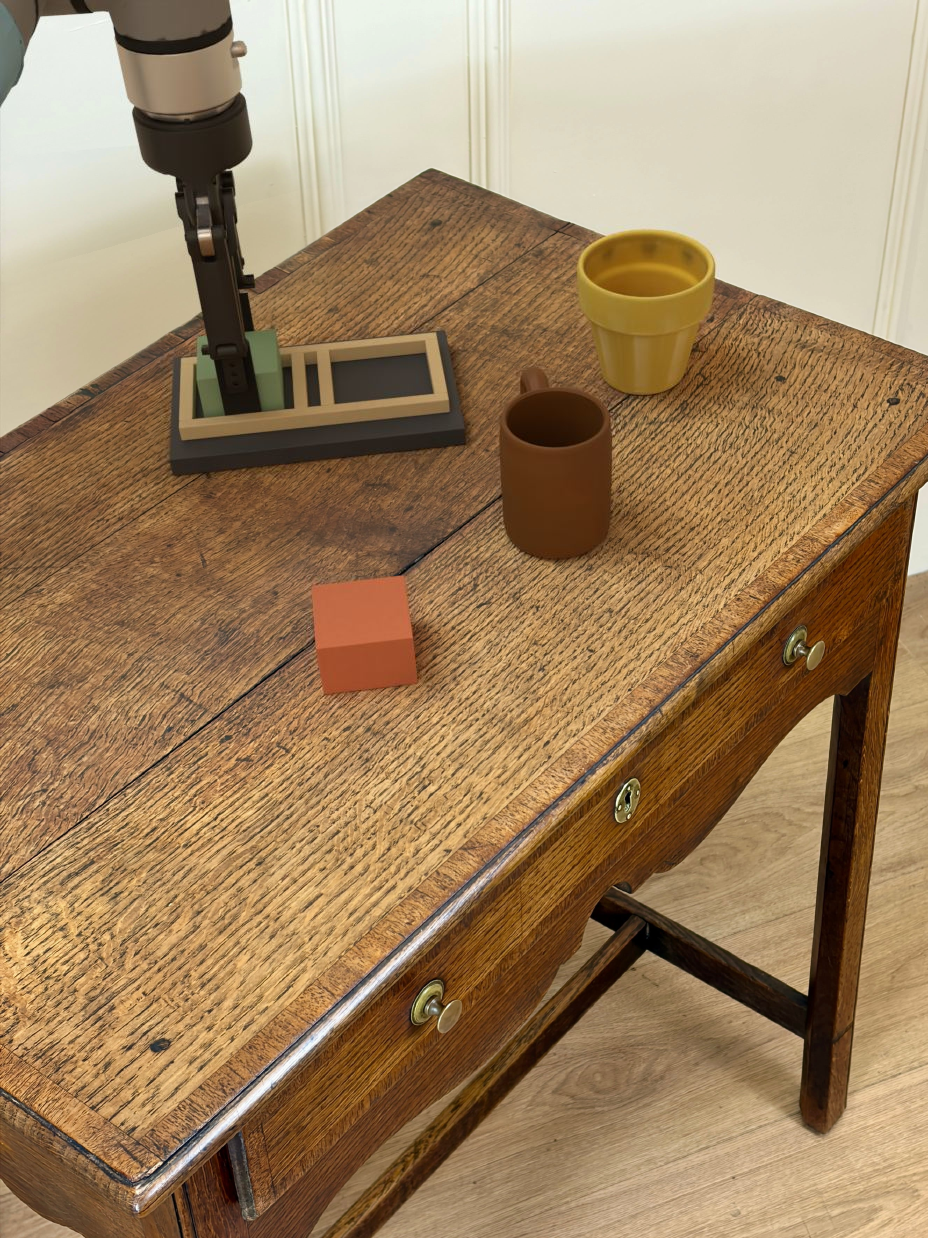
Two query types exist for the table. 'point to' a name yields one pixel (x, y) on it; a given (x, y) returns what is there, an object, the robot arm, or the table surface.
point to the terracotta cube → (363, 635)
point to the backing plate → (327, 406)
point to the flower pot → (645, 305)
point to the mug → (555, 468)
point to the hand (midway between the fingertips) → (244, 394)
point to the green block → (264, 367)
